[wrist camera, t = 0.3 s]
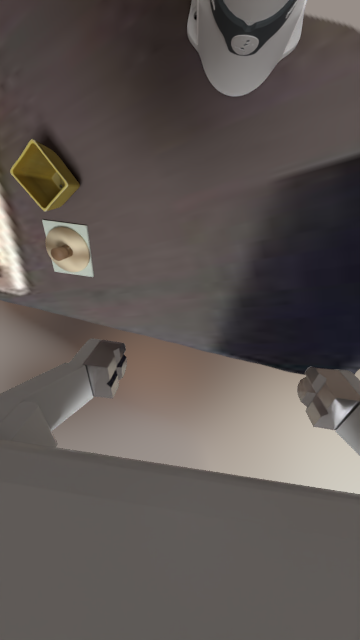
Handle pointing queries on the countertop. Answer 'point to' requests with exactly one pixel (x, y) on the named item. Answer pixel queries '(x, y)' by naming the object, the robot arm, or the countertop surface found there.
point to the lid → (67, 249)
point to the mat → (79, 229)
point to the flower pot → (44, 176)
